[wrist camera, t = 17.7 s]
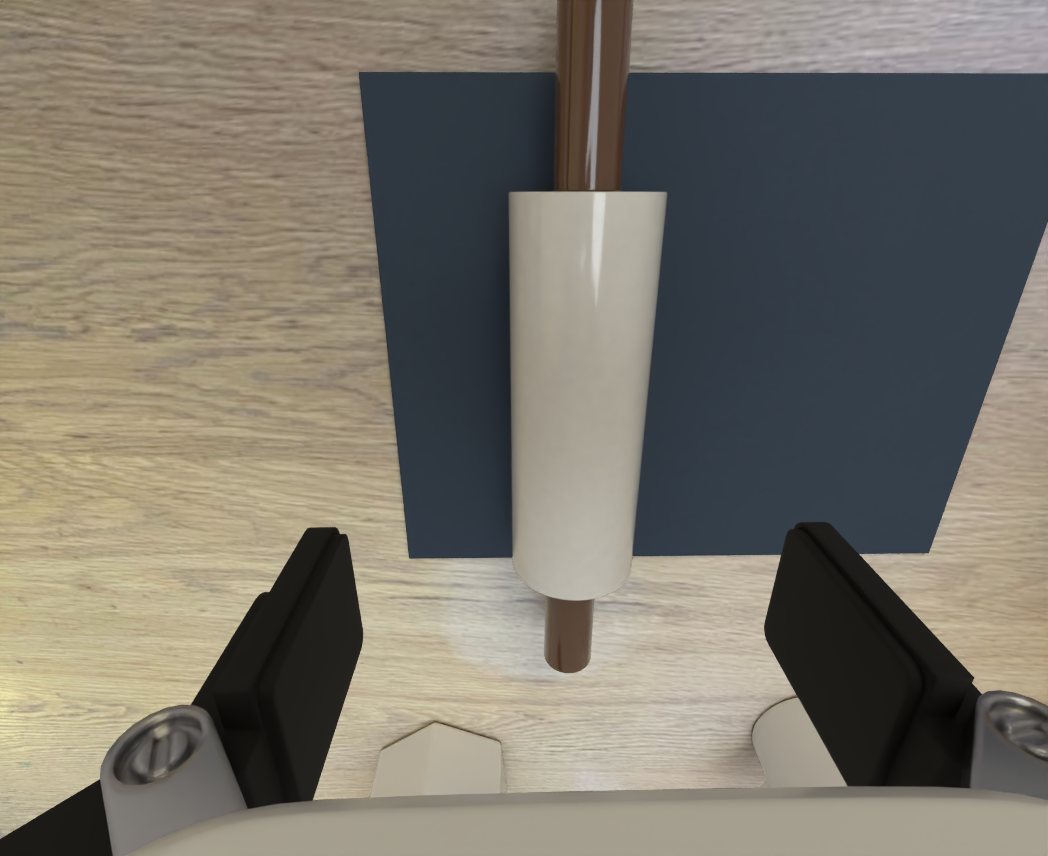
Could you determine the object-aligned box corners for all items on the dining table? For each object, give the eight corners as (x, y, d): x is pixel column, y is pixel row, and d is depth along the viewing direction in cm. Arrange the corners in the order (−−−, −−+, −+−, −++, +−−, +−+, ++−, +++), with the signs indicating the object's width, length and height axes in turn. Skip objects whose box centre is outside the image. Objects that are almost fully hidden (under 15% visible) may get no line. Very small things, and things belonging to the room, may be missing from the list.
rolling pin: (578, 603, 32) (645, 669, 27) (494, 641, 29) (552, 721, 25) (608, 17, 20) (729, -31, 16) (474, -9, 18) (576, -75, 13)
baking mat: (409, 556, 29) (409, 558, 29) (360, 73, 20) (358, 72, 20) (926, 551, 29) (928, 553, 29) (1096, 74, 21) (1101, 73, 21)
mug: (838, 676, 33) (998, 918, 22) (864, 742, 36) (1021, 990, 24) (683, 732, 35) (761, 981, 24) (718, 791, 37) (804, 1042, 26)
